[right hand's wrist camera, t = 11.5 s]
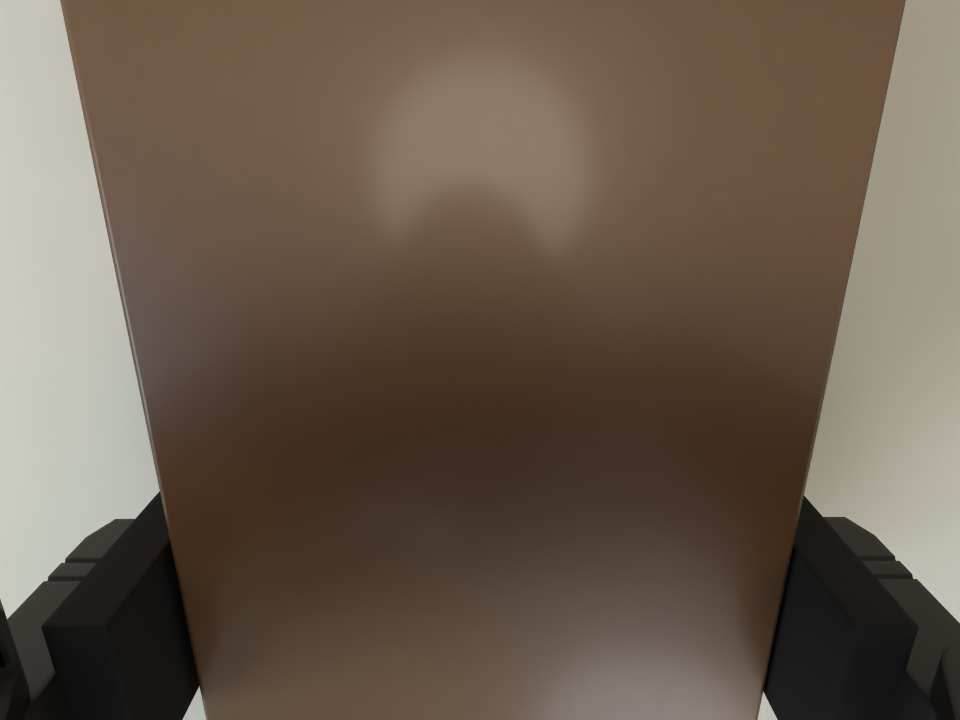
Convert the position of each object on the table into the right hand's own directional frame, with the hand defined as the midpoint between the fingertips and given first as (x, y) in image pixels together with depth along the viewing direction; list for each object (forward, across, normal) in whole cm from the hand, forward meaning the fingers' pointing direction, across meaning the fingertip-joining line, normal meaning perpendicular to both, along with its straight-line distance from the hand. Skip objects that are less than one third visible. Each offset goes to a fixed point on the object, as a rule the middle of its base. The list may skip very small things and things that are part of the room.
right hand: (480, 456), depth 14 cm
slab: (+2, 0, -22) cm, 22 cm away
